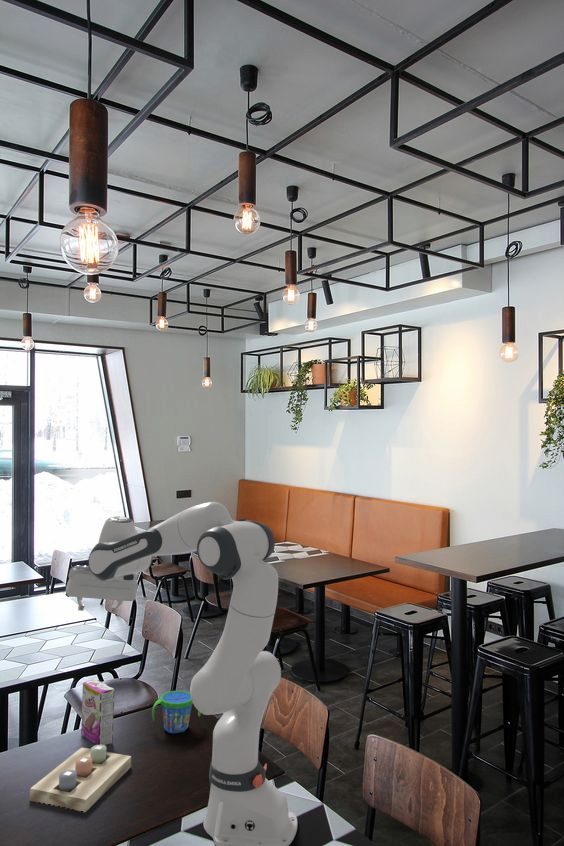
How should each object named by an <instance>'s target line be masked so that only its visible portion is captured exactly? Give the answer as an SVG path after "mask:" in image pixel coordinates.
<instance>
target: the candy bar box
mask: <svg viewBox="0 0 564 846" xmlns="http://www.w3.org/2000/svg"><path fill="white" fill-rule="evenodd" d="M115 691H116V690H115V688H113V687H112V686H109V685H107V684H106V683H104V682H102V681H101V680H99V679H98V678H95V679H91V680H87V681H84V682H83V683H82V698H81V699H82V701H81V728H80V729H81V731H80V733H81V734H80V736H81V737H83V738H85V739H86V740H87V741H89V742H90V743H92V744H93V745H94V746H95V745H105V746H106V747H107V746H108V745H111V744H113V742H114V741H113V740H114V718H115V717H114V713H115V712H114V711H115V710H114V709H115Z"/></svg>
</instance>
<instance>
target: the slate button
mask: <svg viewBox="0 0 564 846" xmlns="http://www.w3.org/2000/svg"><path fill="white" fill-rule="evenodd" d="M76 776H77V772H76V771H74V770H66V771H63V772H61V773H60V774H59V790H60V791H65V792H71V791H72V790H73V789H75V788H76Z"/></svg>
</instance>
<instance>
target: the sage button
mask: <svg viewBox="0 0 564 846" xmlns="http://www.w3.org/2000/svg"><path fill="white" fill-rule="evenodd" d="M90 749H91V755H90V758H92V763H95V764H100V765H101V764H102V763H104V762H105V761H106V752H107V745H106V746H105V745H95V744H94V745H93V746H92V747H91V748H90Z"/></svg>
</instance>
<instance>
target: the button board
mask: <svg viewBox="0 0 564 846" xmlns="http://www.w3.org/2000/svg"><path fill="white" fill-rule="evenodd" d="M90 755H91V748H87V747H79V749H78V750H77V751H75V752H74V753H72V754H71V755H70V756H69V757H68V758H66V759H65V760H64V761H63V762H61V763H60V764H59V765H58V766H56V767H55V768H53V770H52V771H50V772H49V773H48V774H46V775H45V776H44V777H43V778H42V779H40V780H38V782H36V783H35V784H34V785H32V787H30V789H29V802H34V803H39V802H40V803H39V804H43V803H45V804H44V805H48V804H51V805H50V806H53V805H55V806H54V807H58V806H60V807H59V808H62V807H66V808H65V809H67V808H70V809H69V810H72V809H74V810H73V811H76V812H77V811H78V812H81V811H83V812H82V813H86V812H87V811H88V810H90V808H91V807H93V805H94V804H96V803H97V802H98V800H99V799H101V798H102V796H104V795H105V793H106V792H108V791H109V789H110V788H112V787H113V786H114V784H115V783H117V782H118V780H120V779H121V778H122V777H123V776H124V775H125V774H126V773H127V772H128V771H129V770H130V769H131V768H132V756H131V755H126V754H120V753H115V752H110V751H106V761H105V762H104V763H102V764H101V765H100V764H95V763H92V773H91V774H90V775H89V776H88V777H87V778H84V777H79V776H76V788H75V789H73V790H72V791H71V792H65V791H60V790H59V774H60V773H61V772H63V771H66V770H74V771H75V766H76V760H77V759H79V758H81V757H90Z"/></svg>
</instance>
